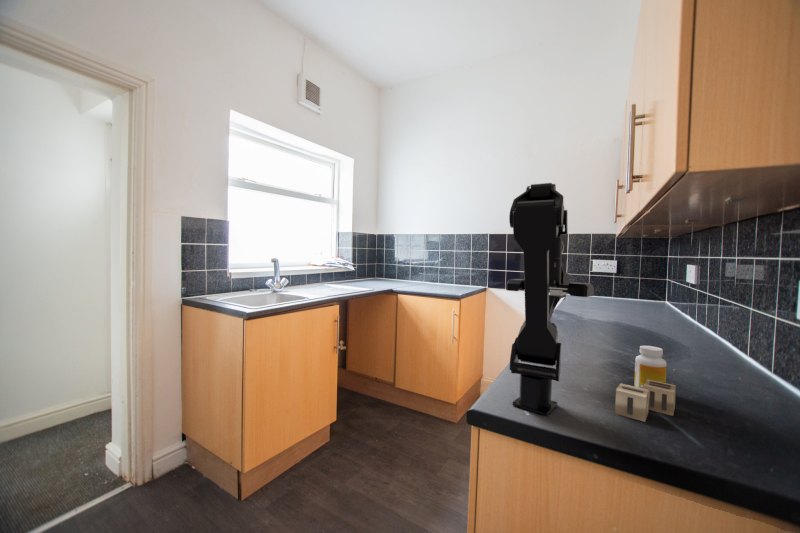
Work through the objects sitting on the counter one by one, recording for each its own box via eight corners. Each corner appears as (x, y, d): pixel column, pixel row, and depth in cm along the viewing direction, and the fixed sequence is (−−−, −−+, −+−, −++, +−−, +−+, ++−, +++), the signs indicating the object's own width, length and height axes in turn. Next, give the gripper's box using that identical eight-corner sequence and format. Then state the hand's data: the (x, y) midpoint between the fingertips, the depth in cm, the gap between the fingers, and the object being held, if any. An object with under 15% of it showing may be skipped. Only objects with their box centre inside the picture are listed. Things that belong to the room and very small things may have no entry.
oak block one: (644, 422, 59) (645, 396, 58) (614, 414, 62) (615, 389, 61) (648, 413, 62) (649, 389, 62) (619, 406, 65) (620, 382, 65)
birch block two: (673, 416, 61) (674, 391, 61) (642, 408, 64) (643, 385, 64) (674, 408, 64) (675, 384, 64) (646, 401, 67) (646, 378, 67)
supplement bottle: (672, 398, 69) (674, 351, 69) (645, 397, 69) (647, 351, 69) (652, 387, 74) (654, 344, 74) (628, 387, 74) (630, 344, 74)
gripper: (601, 259, 80) (599, 324, 80) (524, 258, 93) (523, 314, 93) (587, 258, 72) (585, 331, 72) (506, 257, 85) (504, 318, 85)
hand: (546, 322), depth 81 cm, fingers closed
